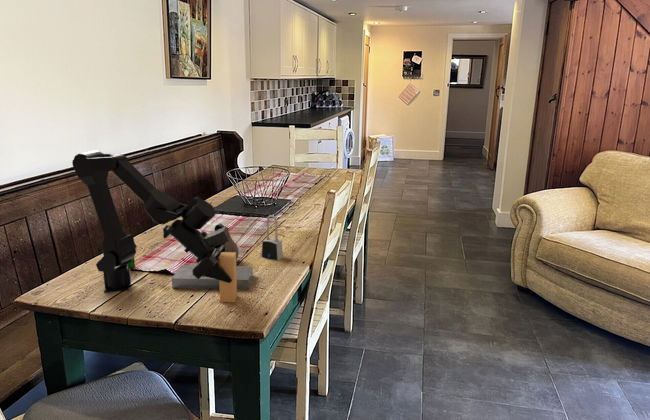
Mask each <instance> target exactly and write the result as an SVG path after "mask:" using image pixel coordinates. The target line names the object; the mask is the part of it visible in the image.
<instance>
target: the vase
mask: <svg viewBox="0 0 650 420" xmlns="http://www.w3.org/2000/svg"><path fill="white" fill-rule="evenodd" d="M225 245H227V247H226V252H234V253H236V261H237V259H238V258H239V247H238V244H237V243H236V242H235V241H234V239H233V238H232V236H231V237H230V238H229V241H228V242H226V244H225ZM225 245H222V246H221V247H222V248H223V247H224V246H225Z"/></svg>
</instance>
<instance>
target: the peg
mask: <svg viewBox="0 0 650 420" xmlns="http://www.w3.org/2000/svg"><path fill="white" fill-rule="evenodd" d="M219 258H220V266H221V267H222V268H223V269H224V271H225V272H226V273H227V274H228V275H229V276H230V278H231V279H232V281H231V282H230V283H227V282H224V281H221V280H219V287H220V289H219V302H222V303H236V300H237V297H238V289H237V275H236V266H237V260H236V253H234V252H221V254H220V256H219ZM219 258H218V259H219Z"/></svg>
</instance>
